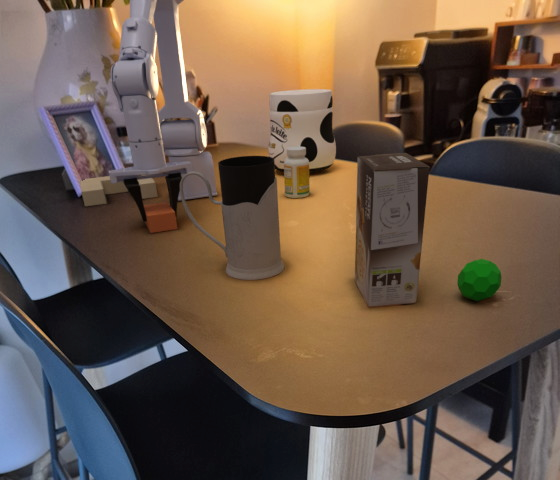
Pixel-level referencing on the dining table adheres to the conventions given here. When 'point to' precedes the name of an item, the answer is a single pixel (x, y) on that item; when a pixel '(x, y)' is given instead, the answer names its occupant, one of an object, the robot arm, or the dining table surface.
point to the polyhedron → (479, 280)
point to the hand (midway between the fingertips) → (159, 218)
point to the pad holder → (111, 189)
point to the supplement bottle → (296, 173)
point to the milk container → (302, 126)
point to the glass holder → (247, 216)
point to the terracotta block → (160, 217)
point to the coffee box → (389, 227)
